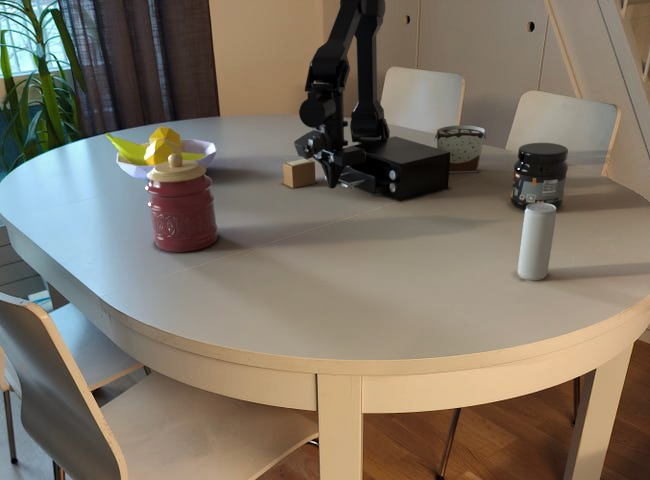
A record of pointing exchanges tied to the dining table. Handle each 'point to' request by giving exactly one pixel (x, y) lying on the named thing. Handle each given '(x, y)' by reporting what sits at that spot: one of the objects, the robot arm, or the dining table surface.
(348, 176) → the tray
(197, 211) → the kitchen canister
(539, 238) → the beverage can
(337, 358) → the dining table surface
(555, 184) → the supplement container
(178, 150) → the fruit bowl
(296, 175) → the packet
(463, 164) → the food container
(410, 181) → the toaster oven
